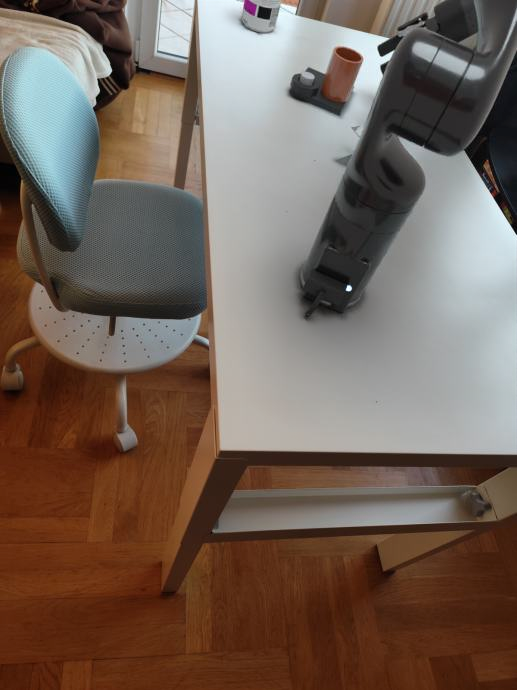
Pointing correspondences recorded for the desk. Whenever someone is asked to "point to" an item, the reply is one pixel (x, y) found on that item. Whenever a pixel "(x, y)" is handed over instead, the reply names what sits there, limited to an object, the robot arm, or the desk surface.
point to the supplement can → (260, 14)
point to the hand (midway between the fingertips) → (380, 61)
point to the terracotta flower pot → (341, 74)
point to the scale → (315, 92)
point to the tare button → (306, 78)
